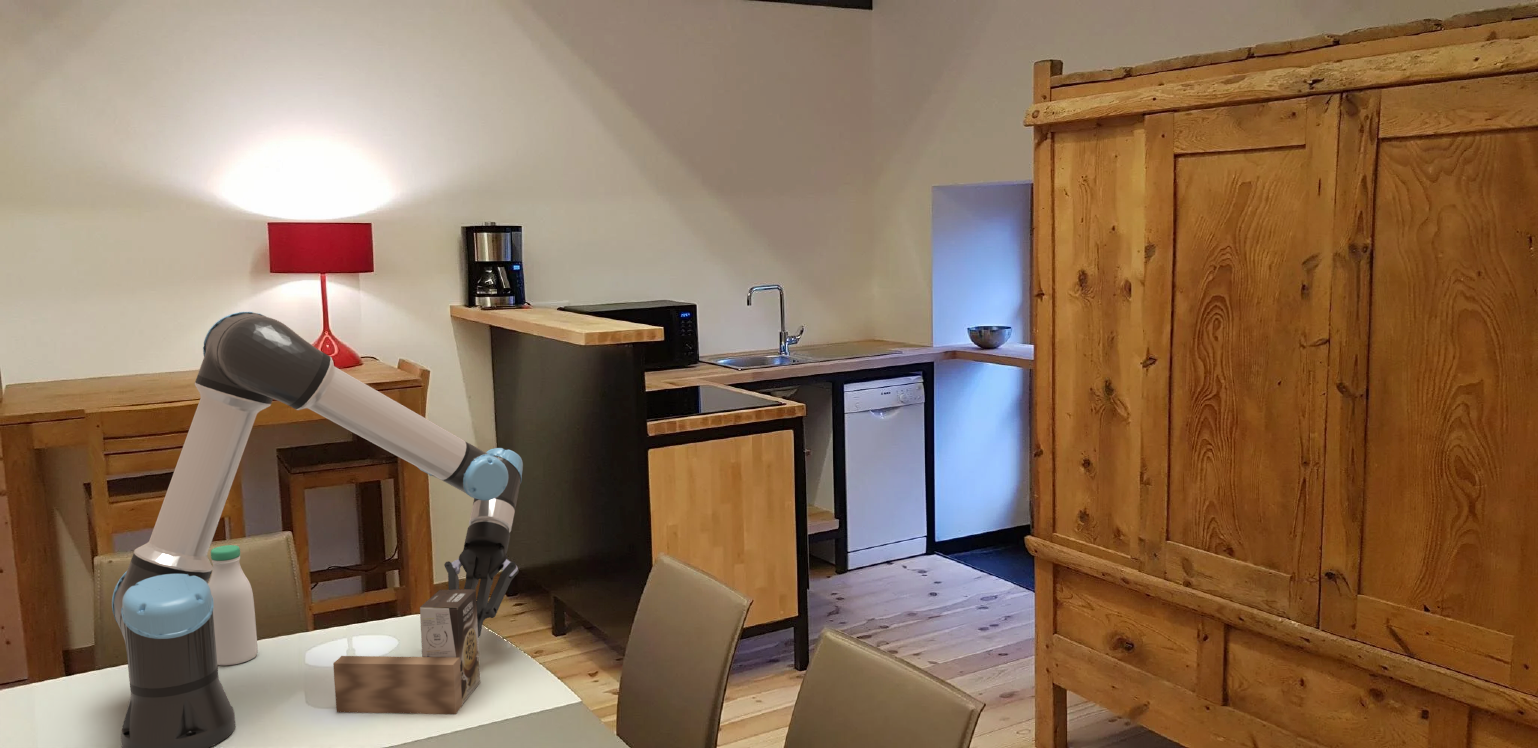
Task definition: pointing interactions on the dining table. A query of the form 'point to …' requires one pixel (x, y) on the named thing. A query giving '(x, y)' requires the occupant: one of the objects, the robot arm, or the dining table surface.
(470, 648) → the coffee box
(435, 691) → the wooden block
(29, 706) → the dining table surface
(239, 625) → the milk bottle
